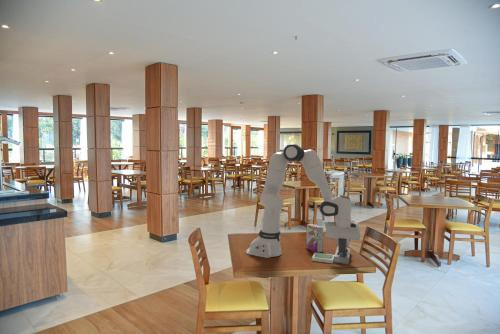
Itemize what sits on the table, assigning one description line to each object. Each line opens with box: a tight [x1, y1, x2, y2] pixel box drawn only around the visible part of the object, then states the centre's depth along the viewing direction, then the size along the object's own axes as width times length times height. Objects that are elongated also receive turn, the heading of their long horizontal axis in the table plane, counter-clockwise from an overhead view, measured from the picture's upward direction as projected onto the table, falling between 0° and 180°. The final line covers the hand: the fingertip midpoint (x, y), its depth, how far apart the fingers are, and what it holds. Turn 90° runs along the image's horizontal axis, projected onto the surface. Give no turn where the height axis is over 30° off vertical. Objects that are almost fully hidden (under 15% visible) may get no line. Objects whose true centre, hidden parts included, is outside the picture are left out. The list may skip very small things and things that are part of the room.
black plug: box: [337, 238, 348, 253], centre depth 203 cm, size 5×5×8 cm
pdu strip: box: [333, 246, 351, 265], centre depth 207 cm, size 8×20×5 cm, turn 161°
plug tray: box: [311, 252, 335, 264], centre depth 204 cm, size 12×10×2 cm
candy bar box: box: [305, 223, 324, 253], centre depth 222 cm, size 11×5×16 cm, turn 31°
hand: (342, 245), depth 203 cm, fingers closed on black plug, 4 cm apart
